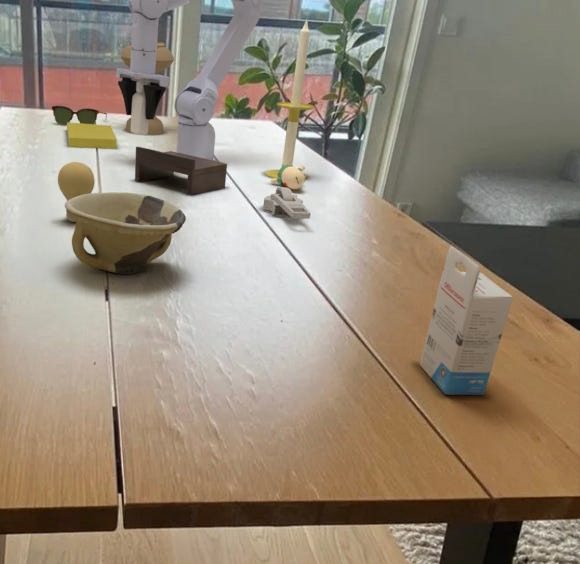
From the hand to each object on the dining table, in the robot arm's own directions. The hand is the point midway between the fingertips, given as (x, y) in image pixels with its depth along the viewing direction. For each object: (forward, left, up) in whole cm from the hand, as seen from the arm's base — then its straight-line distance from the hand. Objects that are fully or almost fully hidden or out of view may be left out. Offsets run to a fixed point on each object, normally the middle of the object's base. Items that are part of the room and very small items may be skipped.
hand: (139, 117), depth 178 cm
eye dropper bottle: (0, 0, -4) cm, 4 cm away
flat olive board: (-13, -29, -11) cm, 34 cm away
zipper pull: (+12, +51, -11) cm, 53 cm away
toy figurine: (-11, +36, -11) cm, 39 cm away
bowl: (+60, +52, -11) cm, 80 cm away
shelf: (+8, +20, -10) cm, 23 cm away
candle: (-21, +29, -11) cm, 37 cm away
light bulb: (+47, +28, -11) cm, 55 cm away
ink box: (+60, +105, -11) cm, 121 cm away
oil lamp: (-36, -30, -11) cm, 49 cm away
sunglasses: (-30, -50, -11) cm, 60 cm away
